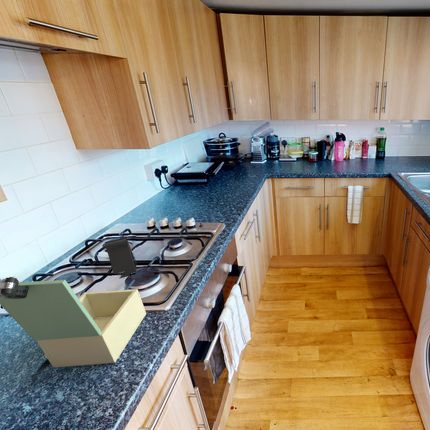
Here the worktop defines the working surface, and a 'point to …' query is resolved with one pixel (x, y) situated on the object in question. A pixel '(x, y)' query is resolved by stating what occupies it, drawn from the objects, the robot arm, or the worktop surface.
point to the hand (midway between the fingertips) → (23, 292)
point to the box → (108, 324)
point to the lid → (51, 312)
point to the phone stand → (121, 256)
